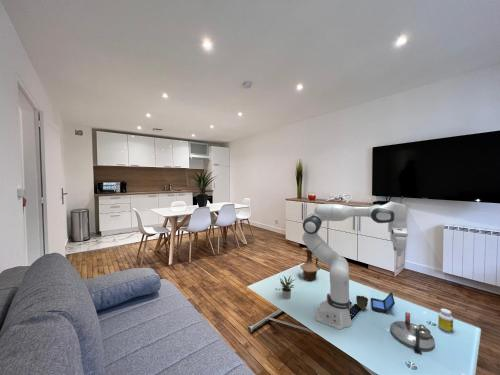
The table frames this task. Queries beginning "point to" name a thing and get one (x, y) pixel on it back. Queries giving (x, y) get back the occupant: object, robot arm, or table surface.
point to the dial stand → (417, 339)
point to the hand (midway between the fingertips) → (397, 253)
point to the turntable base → (411, 346)
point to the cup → (362, 302)
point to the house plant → (286, 287)
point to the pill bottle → (445, 321)
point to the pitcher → (309, 267)
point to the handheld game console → (382, 304)
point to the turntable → (409, 333)
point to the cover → (424, 332)
